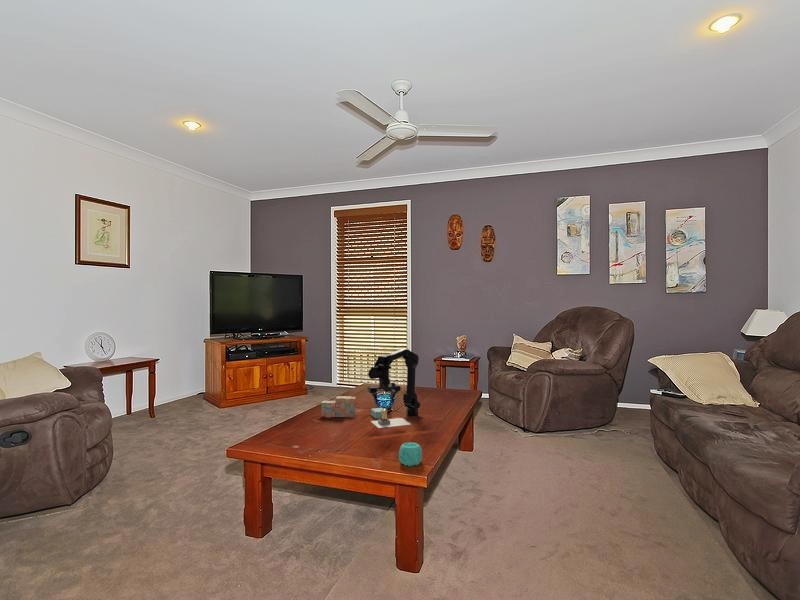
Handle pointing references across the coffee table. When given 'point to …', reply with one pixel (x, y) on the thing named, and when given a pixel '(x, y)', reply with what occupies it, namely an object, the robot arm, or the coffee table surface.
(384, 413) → the pin
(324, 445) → the coffee table surface
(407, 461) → the decorative dice
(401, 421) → the board
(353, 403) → the stack of blocks
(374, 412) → the block
